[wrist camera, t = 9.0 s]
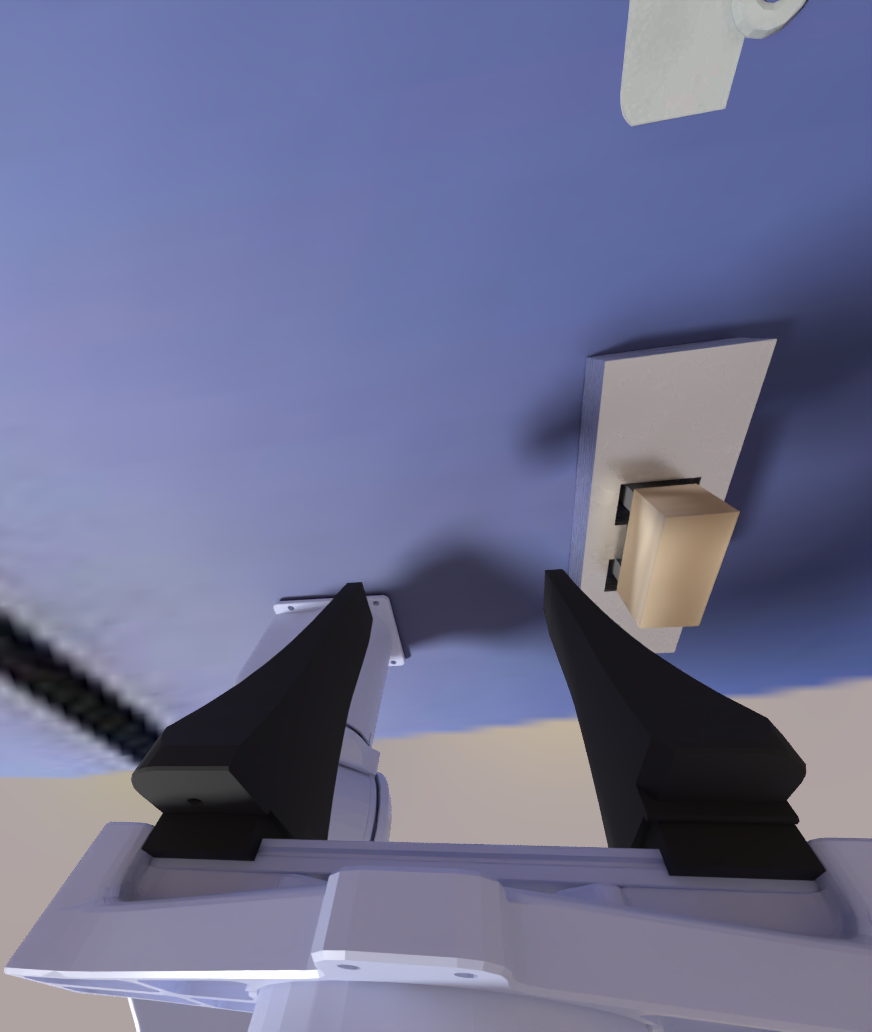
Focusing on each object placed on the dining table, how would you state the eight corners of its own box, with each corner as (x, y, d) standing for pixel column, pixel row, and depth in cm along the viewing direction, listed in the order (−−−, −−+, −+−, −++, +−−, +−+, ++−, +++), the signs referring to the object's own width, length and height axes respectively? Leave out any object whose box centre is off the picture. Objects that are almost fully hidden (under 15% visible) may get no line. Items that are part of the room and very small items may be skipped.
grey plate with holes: (563, 629, 27) (573, 656, 24) (586, 357, 17) (604, 361, 15) (656, 625, 26) (674, 652, 24) (734, 337, 16) (777, 338, 14)
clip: (598, 561, 23) (639, 628, 18) (611, 468, 20) (666, 517, 15) (643, 558, 23) (698, 625, 18) (664, 462, 19) (739, 511, 14)
